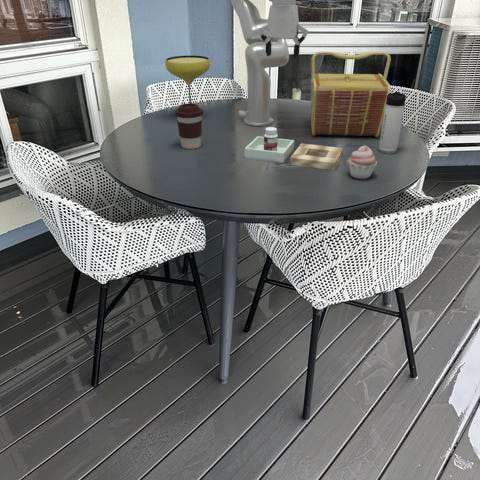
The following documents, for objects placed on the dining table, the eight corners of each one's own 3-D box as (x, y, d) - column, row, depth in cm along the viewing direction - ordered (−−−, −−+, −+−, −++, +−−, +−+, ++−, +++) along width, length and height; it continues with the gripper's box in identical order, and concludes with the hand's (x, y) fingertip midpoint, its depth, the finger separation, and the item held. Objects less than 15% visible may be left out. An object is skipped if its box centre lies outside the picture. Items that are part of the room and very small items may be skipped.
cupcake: (357, 183, 138) (361, 152, 133) (339, 172, 146) (343, 142, 140) (381, 178, 141) (386, 147, 136) (363, 168, 149) (367, 138, 143)
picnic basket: (374, 122, 192) (385, 46, 177) (385, 142, 170) (399, 57, 155) (305, 120, 195) (310, 46, 179) (307, 140, 173) (313, 57, 157)
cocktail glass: (189, 111, 208) (185, 54, 195) (220, 118, 199) (218, 57, 186) (161, 121, 196) (155, 60, 183) (193, 128, 187) (189, 64, 174)
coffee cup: (209, 143, 170) (207, 103, 162) (196, 152, 163) (193, 110, 155) (186, 140, 174) (183, 100, 166) (172, 148, 166) (169, 107, 158)
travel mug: (396, 148, 164) (406, 92, 154) (396, 154, 159) (406, 96, 148) (379, 146, 166) (387, 91, 156) (377, 152, 161) (386, 95, 150)
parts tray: (244, 158, 157) (244, 148, 155) (257, 145, 168) (257, 136, 167) (283, 163, 153) (283, 153, 151) (293, 149, 164) (294, 140, 162)
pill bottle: (263, 149, 163) (263, 126, 158) (276, 149, 163) (277, 126, 158) (263, 154, 158) (264, 130, 154) (277, 154, 158) (278, 130, 154)
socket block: (290, 164, 152) (290, 157, 150) (300, 150, 164) (301, 143, 162) (334, 170, 147) (335, 163, 146) (342, 154, 159) (343, 148, 158)
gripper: (255, 1, 148) (255, 56, 157) (307, 1, 143) (303, 59, 152) (262, -1, 154) (261, 53, 163) (312, 0, 149) (308, 55, 158)
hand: (282, 56), depth 157 cm, fingers open, 9 cm apart
